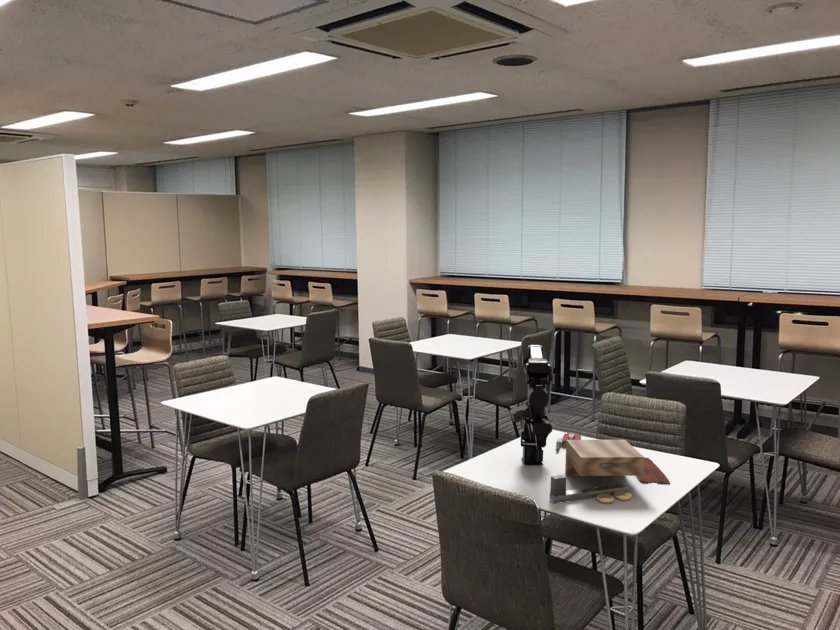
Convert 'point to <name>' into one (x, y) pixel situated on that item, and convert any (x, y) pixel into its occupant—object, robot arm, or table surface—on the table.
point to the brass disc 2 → (622, 496)
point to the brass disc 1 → (605, 498)
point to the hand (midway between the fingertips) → (535, 444)
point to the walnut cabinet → (602, 458)
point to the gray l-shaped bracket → (579, 490)
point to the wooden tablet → (652, 473)
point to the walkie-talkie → (567, 437)
